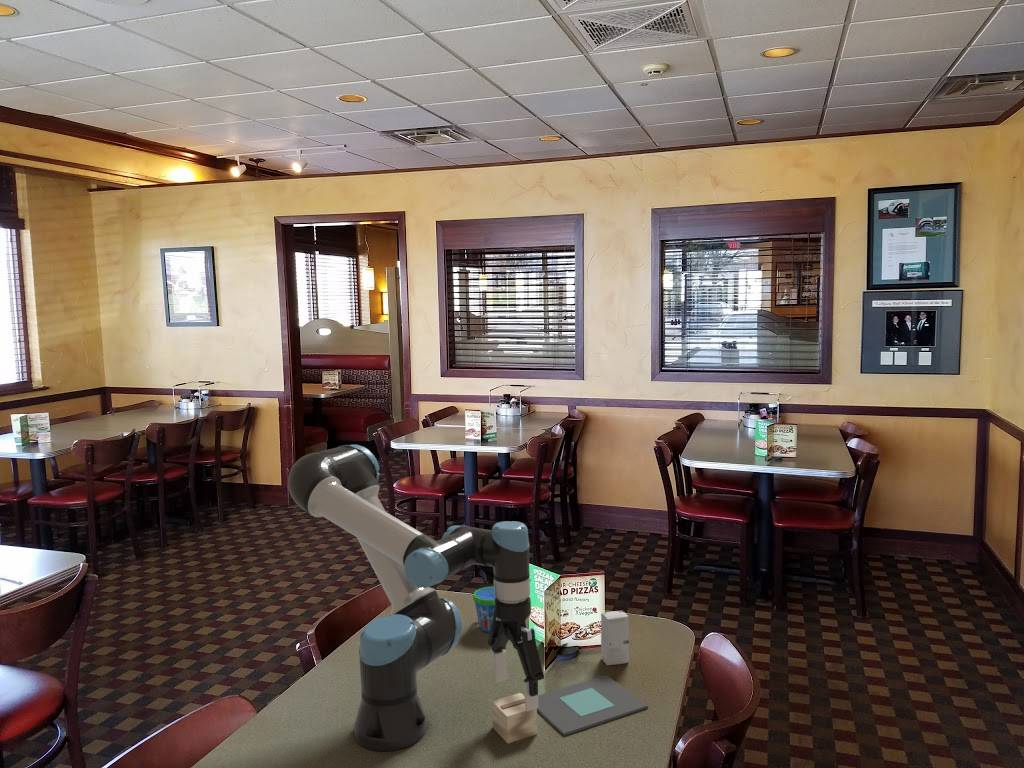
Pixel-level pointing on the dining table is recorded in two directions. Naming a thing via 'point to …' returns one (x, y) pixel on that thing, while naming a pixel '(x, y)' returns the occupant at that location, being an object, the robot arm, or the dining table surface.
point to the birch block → (513, 718)
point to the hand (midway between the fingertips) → (515, 694)
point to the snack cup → (485, 607)
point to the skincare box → (615, 637)
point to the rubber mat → (587, 704)
